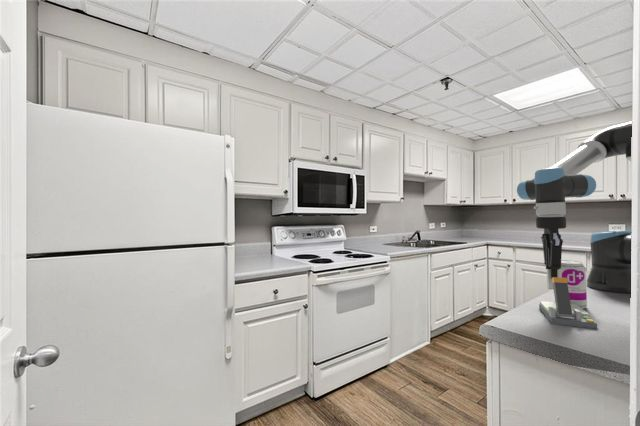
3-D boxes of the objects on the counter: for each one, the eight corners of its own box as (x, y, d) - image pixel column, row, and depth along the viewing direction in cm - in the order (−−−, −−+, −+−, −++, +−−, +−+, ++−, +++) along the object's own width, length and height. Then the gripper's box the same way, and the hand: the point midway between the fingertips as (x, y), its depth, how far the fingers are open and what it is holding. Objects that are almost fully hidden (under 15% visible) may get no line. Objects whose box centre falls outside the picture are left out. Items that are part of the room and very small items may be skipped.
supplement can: (590, 311, 91) (588, 264, 91) (557, 307, 95) (556, 263, 95) (582, 303, 98) (580, 260, 98) (552, 301, 102) (550, 259, 102)
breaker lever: (573, 317, 82) (567, 278, 86) (575, 317, 80) (569, 277, 84) (554, 315, 84) (549, 278, 88) (556, 315, 82) (551, 277, 86)
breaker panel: (577, 312, 90) (577, 299, 90) (597, 328, 78) (596, 314, 78) (539, 308, 95) (538, 296, 95) (551, 323, 82) (551, 310, 82)
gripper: (531, 216, 99) (534, 283, 99) (541, 216, 87) (544, 293, 87) (558, 215, 95) (561, 285, 95) (572, 216, 84) (575, 295, 84)
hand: (553, 288), depth 91 cm, fingers closed
